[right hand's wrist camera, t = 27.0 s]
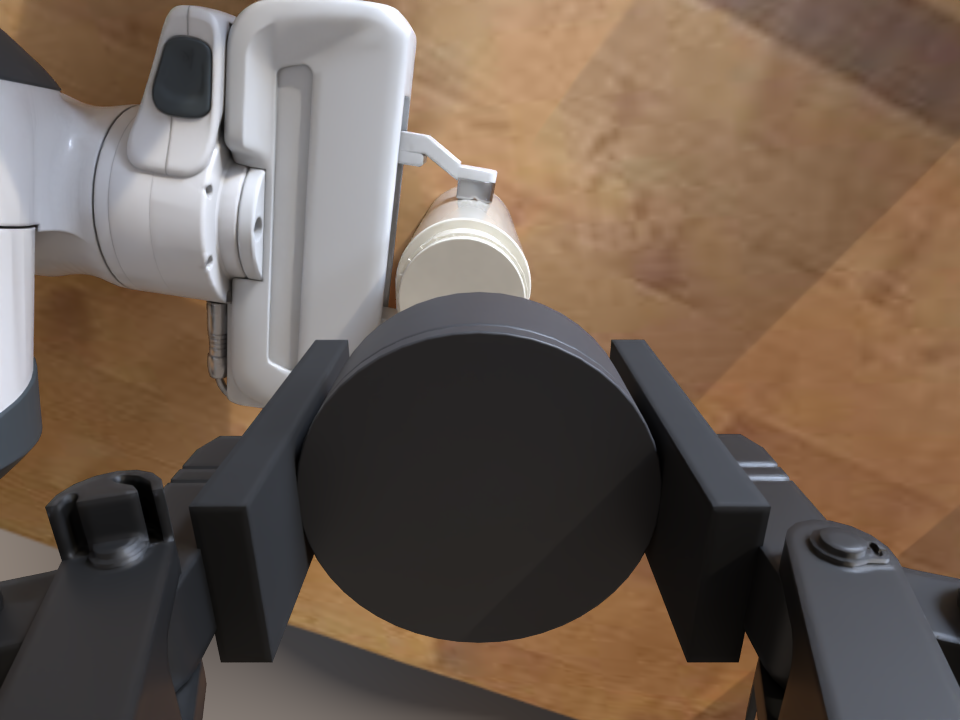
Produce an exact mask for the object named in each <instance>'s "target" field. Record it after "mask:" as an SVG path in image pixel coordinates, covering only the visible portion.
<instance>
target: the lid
mask: <svg viewBox="0 0 960 720" xmlns="http://www.w3.org/2000/svg"><path fill="white" fill-rule="evenodd" d="M297 488H298V496H299V504H300V512H301V519H302V526H303V530H304V533H305V535H306V538H307V541H308V543H309V545H310V547H311V549H312V551H313V553H314V554H315V556H316V558H317V560H318V562H319V563H320V564H321V566H322V567H323V568H324V570H325V571H326V573H327V574H328V575H329V577H330V578H331V579H332V580H333V581H334V582H335V583H336V584H337V585H338V586H339V587H340V588H341V589H342V591H343V592H345V593H346V594H347V595H348V596H349V597H351V598H352V599H353V600H354V601H355V602H357V603H358V604H359V605H360V606H362V607H364V608H365V609H367V610H368V611H370V612H371V613H373V614H374V615H376V616H378V617H380V618H382V619H384V620H386V621H388V622H390V623H392V624H394V625H396V626H398V627H401V628H403V629H406V630H409V631H411V632H414V633H417V634H421V635H425V636H429V637H433V638H437V639H444V640H450V641H457V642H475V643H483V642H501V641H508V640H515V639H521V638H525V637H529V636H533V635H537V634H541V633H544V632H547V631H549V630H552V629H555V628H557V627H560V626H563V625H565V624H567V623H569V622H571V621H573V620H575V619H577V618H579V617H581V616H582V615H584V614H585V613H587V612H588V611H590V610H592V609H593V608H595V607H596V606H598V605H599V604H600V603H601V602H603V601H604V600H605V599H606V598H608V597H609V596H610V595H611V594H612V593H614V592H615V591H616V590H617V589H618V587H619V586H620V585H621V584H622V583H623V582H624V581H625V580H626V579H627V578H628V577H629V575H630V574H631V573H632V571H633V570H634V569H635V567H636V566H637V565H638V563H639V562H640V560H641V558H642V556H643V555H644V553H645V551H646V549H647V547H648V545H649V544H650V541H651V538H652V536H653V533H654V530H655V527H656V525H657V520H658V514H659V507H660V499H661V491H662V478H661V468H660V461H659V457H658V453H657V449H656V446H655V442H654V440H653V437H652V435H651V433H650V431H649V428H648V426H647V424H646V422H645V420H644V418H643V416H642V414H641V413H640V411H639V409H638V407H637V405H636V404H635V402H634V400H633V398H632V397H631V395H630V393H629V391H628V389H627V388H626V386H625V384H624V382H623V380H622V379H621V377H620V375H619V373H618V371H617V370H616V368H615V366H614V365H613V363H612V362H611V360H610V359H609V357H608V355H607V354H606V352H605V351H604V350H603V349H602V348H601V346H600V345H599V344H598V343H597V342H596V341H595V339H594V338H593V337H592V336H590V335H589V334H588V333H587V332H586V331H585V330H584V329H583V328H581V327H580V326H579V325H578V324H576V323H575V322H573V321H572V320H570V319H569V318H567V317H566V316H564V315H563V314H561V313H559V312H557V311H555V310H553V309H551V308H549V307H547V306H545V305H543V304H540V303H537V302H534V301H531V300H528V299H525V298H522V297H517V296H512V295H507V294H502V293H488V292H470V293H457V294H451V295H446V296H441V297H436V298H433V299H430V300H427V301H424V302H421V303H418V304H415V305H413V306H411V307H409V308H407V309H405V310H403V311H401V312H399V313H397V314H395V315H394V316H392V317H391V318H389V319H388V320H386V321H385V322H383V323H382V324H380V325H379V326H378V327H377V328H376V329H375V330H373V331H372V332H371V333H370V334H369V335H368V336H367V337H365V339H364V340H363V341H362V342H361V343H360V344H359V346H358V347H357V348H356V349H355V350H354V351H353V353H352V354H351V356H350V357H349V359H348V361H347V362H346V364H345V365H344V367H343V368H342V370H341V372H340V374H339V375H338V377H337V379H336V381H335V383H334V384H333V386H332V388H331V390H330V391H329V393H328V395H327V397H326V399H325V400H324V402H323V404H322V406H321V407H320V409H319V411H318V413H317V414H316V416H315V418H314V420H313V422H312V424H311V426H310V428H309V431H308V433H307V435H306V437H305V440H304V442H303V446H302V450H301V453H300V457H299V461H298V468H297Z"/></svg>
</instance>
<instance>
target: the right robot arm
mask: <svg viewBox="0 0 960 720" xmlns="http://www.w3.org/2000/svg"><path fill="white" fill-rule="evenodd" d="M349 357H350V356H349V344H348V340H315V341H314V342H313V344H312V345H311V346H310V348H309V349H308V350H307V352H306V353H305V354H304V356H303V357H302V358H301V360H300V361H299V362H298V363H297V365H296V366H295V367H294V369H293V370H292V371H291V373H290V374H289V375H288V377H287V378H286V379H285V380H284V382H283V383H282V384H281V386H280V387H279V388H278V390H277V391H276V392H275V394H274V395H273V396H272V398H271V399H270V400H269V401H268V403H267V404H266V405H265V407H264V408H263V409H262V411H261V412H260V413H259V415H258V416H257V417H256V418H255V420H254V421H253V422H252V424H251V425H250V426H249V428H248V429H247V430H246V432H245V433H244V434H243V436H219V437H217V438H216V439H214V440H212V441H211V442H209V443H207V444H206V445H204V446H202V447H201V448H199V449H197V450H196V451H195V452H194V454H193V455H192V456H191V457H190V458H189V459H188V460H187V462H186V463H185V464H184V465H183V469H180V470H179V471H178V472H177V473H176V474H175V475H174V477H173V478H172V479H171V483H167V485H166V486H165V487H164V488H163V484H162V480H161V479H160V478H159V477H158V476H156V475H155V474H153V473H151V472H145V471H140V470H128V471H116V472H111V473H107V474H102V475H98V476H94V477H92V478H89V479H87V480H84V481H81V482H79V483H76V484H74V485H72V486H71V487H69V488H67V489H66V490H64V491H62V492H61V493H59V494H57V495H56V496H55V497H54V498H53V499H52V500H51V501H50V502H49V504H48V505H47V506H46V507H45V508H46V511H47V514H48V518H49V521H50V524H51V527H52V530H53V534H54V537H55V540H56V543H57V546H58V550H59V553H60V556H61V559H62V562H61V564H60V566H59V568H58V570H54V571H50V572H46V573H41V574H36V575H32V576H26V577H21V578H16V579H11V580H7V581H2V582H0V720H202V718H203V709H204V701H205V692H206V678H205V672H204V667H203V662H202V657H203V655H204V653H205V651H206V649H207V647H208V646H209V644H210V642H211V640H212V638H213V636H214V634H215V636H216V641H217V646H218V651H219V655H220V660H221V662H273V659H274V657H275V654H276V651H277V649H278V646H279V644H280V641H281V639H282V636H283V633H284V631H285V628H286V626H287V623H288V620H289V618H290V615H291V613H292V610H293V607H294V605H295V602H296V600H297V597H298V594H299V592H300V589H301V587H302V584H303V581H304V579H305V576H306V574H307V571H308V569H309V566H310V563H311V561H312V558H313V556H314V553H313V551H312V549H311V547H310V545H309V543H308V541H307V538H306V535H305V533H304V530H303V526H302V519H301V512H300V504H299V496H298V488H297V468H298V461H299V457H300V453H301V450H302V446H303V442H304V440H305V437H306V435H307V433H308V431H309V428H310V426H311V424H312V422H313V420H314V418H315V416H316V414H317V413H318V411H319V409H320V407H321V406H322V404H323V402H324V400H325V399H326V397H327V395H328V393H329V391H330V390H331V388H332V386H333V384H334V383H335V381H336V379H337V377H338V375H339V374H340V372H341V370H342V368H343V367H344V365H345V364H346V362H347V361H348V359H349ZM610 360H611V362H612V363H613V365H614V366H615V368H616V370H617V371H618V373H619V375H620V377H621V379H622V380H623V382H624V384H625V386H626V388H627V389H628V391H629V393H630V395H631V397H632V398H633V400H634V402H635V404H636V405H637V407H638V409H639V411H640V413H641V414H642V416H643V418H644V420H645V422H646V424H647V426H648V428H649V431H650V433H651V435H652V437H653V440H654V442H655V446H656V449H657V453H658V457H659V461H660V468H661V478H662V491H661V499H660V507H659V514H658V520H657V525H656V527H655V530H654V533H653V536H652V538H651V541H650V544H649V545H648V547H647V549H646V551H645V554H646V557H647V559H648V562H649V564H650V567H651V569H652V572H653V575H654V577H655V580H656V582H657V585H658V588H659V590H660V593H661V595H662V598H663V601H664V603H665V606H666V608H667V611H668V614H669V616H670V619H671V621H672V624H673V627H674V629H675V632H676V634H677V637H678V640H679V642H680V645H681V647H682V650H683V652H684V655H685V658H686V660H687V662H739V658H740V653H741V649H742V644H743V639H744V634H745V632H746V634H747V636H748V638H749V639H750V641H751V643H752V645H753V647H754V649H755V651H756V653H757V655H758V657H759V658H758V662H757V667H756V671H755V676H754V680H753V685H752V689H751V694H750V698H749V703H748V707H747V712H746V719H745V720H754V719H755V715H756V712H757V716H758V720H960V579H957V578H952V577H947V576H942V575H937V574H932V573H927V572H922V571H917V570H913V569H908V568H905V567H901V565H900V563H899V561H898V559H897V558H896V557H895V555H894V554H893V553H892V552H891V550H890V549H889V548H888V547H887V546H886V545H884V544H883V543H881V542H880V541H879V540H877V539H876V538H874V537H873V536H872V535H869V534H867V533H865V532H863V531H861V530H858V529H856V528H854V527H852V526H849V525H845V524H841V523H837V522H833V521H827V520H826V519H825V518H824V517H823V515H822V514H821V513H820V512H819V511H818V510H817V509H816V507H815V506H814V505H813V504H812V503H811V502H810V501H809V499H808V498H807V497H806V496H805V495H804V494H803V493H802V491H801V490H800V489H799V488H798V487H797V486H796V485H795V483H794V482H793V481H789V477H788V475H787V474H786V473H785V472H784V471H783V470H782V469H781V468H780V467H778V466H777V463H776V462H775V461H774V460H773V458H772V457H771V456H770V455H769V454H768V453H767V452H766V450H765V449H764V448H763V447H761V446H759V445H758V444H756V443H754V442H753V441H751V440H749V439H748V438H746V437H744V436H743V435H741V434H716V433H715V432H714V431H713V430H712V428H711V427H710V426H709V424H708V423H707V422H706V420H705V419H704V418H703V416H702V415H701V414H700V412H699V411H698V410H697V409H696V407H695V406H694V405H693V403H692V402H691V401H690V399H689V398H688V397H687V395H686V394H685V393H684V392H683V390H682V389H681V388H680V386H679V385H678V384H677V382H676V381H675V380H674V378H673V377H672V376H671V374H670V373H669V372H668V371H667V369H666V368H665V367H664V365H663V364H662V363H661V361H660V360H659V359H658V357H657V356H656V355H655V353H654V352H653V351H652V350H651V348H650V347H649V346H648V344H647V343H646V342H645V340H611V351H610Z"/></svg>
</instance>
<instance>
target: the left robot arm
mask: <svg viewBox="0 0 960 720" xmlns="http://www.w3.org/2000/svg"><path fill="white" fill-rule="evenodd" d="M415 52H416V35H415V33H414V31H413V29H412V28H411V26H410V24H409V23H408V21H407V20H406V19H405V18H404V16H403V15H402V14H401V13H400V12H399V11H398V10H396V9H395V8H393V7H391V6H388V5H384V4H380V3H374V2H369V1H360V0H260V1H257V2H255V3H253V4H251V5H249V6H248V7H246V8H245V9H244V10H242V11H241V12H240V13H239V15H238V16H237V17H236V16H233V15H231V14H228V13H226V12H223V11H220V10H216V9H211V8H207V7H202V6H193V5H179V6H175V7H174V8H172V9H171V10H170V12H169V13H168V15H167V17H166V19H165V22H164V25H163V28H162V31H161V35H160V39H159V43H158V46H157V50H156V54H155V57H154V61H153V65H152V68H151V72H150V75H149V78H148V82H147V85H146V88H145V91H144V95H143V98H142V101H141V103H140V105H139V104H129V105H119V106H108V107H101V106H93V105H89V104H86V103H83V102H81V101H78V100H76V99H74V98H72V97H70V96H68V95H66V94H63V93H61V92H60V90H61V88H60V87H59V86H58V84H57V83H56V82H55V81H54V79H53V78H52V77H51V76H50V75H49V74H48V73H47V72H46V71H45V69H44V68H43V67H42V66H41V65H40V64H39V63H38V62H36V61H35V60H34V59H33V58H32V57H31V56H30V55H29V54H28V53H27V52H26V51H25V50H24V49H23V48H22V47H20V46H19V45H18V44H17V43H16V42H15V41H14V40H13V39H12V38H11V37H10V36H9V35H8V34H7V33H5V32H4V31H3V30H2V29H1V28H0V479H1V478H2V477H3V476H4V475H5V474H7V473H8V472H9V471H10V470H11V469H12V468H13V467H14V466H15V465H16V464H17V463H18V462H19V461H20V460H21V459H22V458H23V457H24V456H25V455H26V454H27V453H28V452H29V451H30V450H31V449H32V448H33V447H34V445H35V444H36V443H37V442H38V440H39V438H40V436H41V433H42V419H41V408H40V395H39V383H38V371H37V364H36V360H35V357H34V356H33V351H34V278H35V275H40V276H64V275H71V274H86V275H92V276H96V277H99V278H101V279H104V280H106V281H108V282H110V283H112V284H115V285H117V286H120V287H124V288H128V289H133V290H140V291H146V292H153V293H160V294H167V295H173V296H180V297H186V298H193V299H200V300H206V301H207V331H208V336H209V353H208V356H207V367H208V372H209V375H210V377H212V378H214V379H216V382H217V385H218V387H219V389H220V390H221V391H222V393H223V394H224V395H225V396H227V398H228V399H229V400H230V401H231V402H233V403H236V404H239V405H244V406H251V407H258V408H264V407H265V405H266V404H267V403H268V401H269V400H270V399H271V398H272V396H273V395H274V394H275V392H276V391H277V390H278V388H279V387H280V386H281V384H282V383H283V382H284V380H285V379H286V378H287V377H288V375H289V374H290V373H291V371H292V370H293V369H294V367H295V366H296V365H297V363H298V362H299V361H300V360H301V358H302V357H303V356H304V354H305V353H306V352H307V350H308V349H309V348H310V346H311V345H312V344H313V342H314V341H315V340H348V344H349V356H351V354H352V353H353V351H354V350H355V349H356V348H357V347H358V346H359V344H360V343H361V342H362V341H363V340H364V339H365V337H367V336H368V335H369V334H370V333H371V332H372V331H373V330H375V329H376V328H377V327H378V326H379V325H380V324H382V323H383V322H385V321H386V320H388V319H389V318H391V317H392V316H394V315H395V314H397V313H398V311H397V309H395V308H389V307H388V302H389V293H390V284H391V275H392V265H393V256H394V247H395V238H396V228H397V219H398V210H399V200H400V191H401V182H402V173H403V164H406V165H412V166H419V167H420V166H422V165H423V164H424V163H426V160H427V156H428V157H429V158H430V159H431V160H433V161H434V162H435V163H436V164H438V165H439V166H440V167H441V168H443V169H444V170H445V171H446V172H447V173H449V174H450V175H451V176H452V177H454V178H455V179H456V180H458V186H457V194H456V198H459V199H465V200H471V199H473V198H475V199H476V200H477V201H480V202H483V203H492V199H493V194H494V188H495V182H496V176H497V171H495V170H491V169H486V168H480V167H474V166H468V165H462V164H461V161H460V160H459V159H457V158H456V157H455V156H454V155H453V154H451V153H450V152H449V151H448V150H447V149H445V148H444V147H443V146H442V145H441V144H440V143H438V142H437V141H436V140H435V139H434V138H432V137H431V136H430V135H424V134H419V133H413V132H407V126H408V117H409V108H410V99H411V89H412V80H413V71H414V61H415ZM226 377H227V385H226V383H225V381H224V378H226Z"/></svg>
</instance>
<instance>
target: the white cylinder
mask: <svg viewBox="0 0 960 720" xmlns="http://www.w3.org/2000/svg"><path fill="white" fill-rule="evenodd" d="M456 194H457V187H455V188H452V189H450V190H448V191H446V192H444V193H443V194H441V195H440V196H439V197H438V198H437V199H436V200H435V201H434V202H433V203H432V204H431V206H430V208H429V209H428V211H427V213H426V214H425V216H424V218H423V220H422V221H421V223H420V225H419V226H418V228H417V230H416V232H415V233H414V235H413V237H412V238H411V240H410V242H409V244H408V245H407V247H406V249H405V250H404V252H403V254H402V256H401V259H400V261H399V264H398V268H397V272H396V307H397V311H398V313H399V312H401V311H403V310H405V309H407V308H409V307H411V306H413V305H415V304H418V303H421V302H424V301H427V300H430V299H433V298H436V297H441V296H446V295H451V294H457V293H470V292H488V293H502V294H507V295H512V296H517V297H522V298H525V299H528V300H529V298H530V292H531V277H530V271H529V267H528V264H527V261H526V258H525V255H524V252H523V249H522V247H521V244H520V241H519V238H518V235H517V233H516V230H515V227H514V224H513V221H512V219H511V216H510V213H509V211H508V209H507V208H506V206H505V204H504V203H503V202H502V201H501V200H500V199H499V198H498V197H497V196H496V195H495V194H493V199H492V203H483V202H480V201H477V200H476V199H475V198H473V199H471V200H465V199H459V198H456Z"/></svg>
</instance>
